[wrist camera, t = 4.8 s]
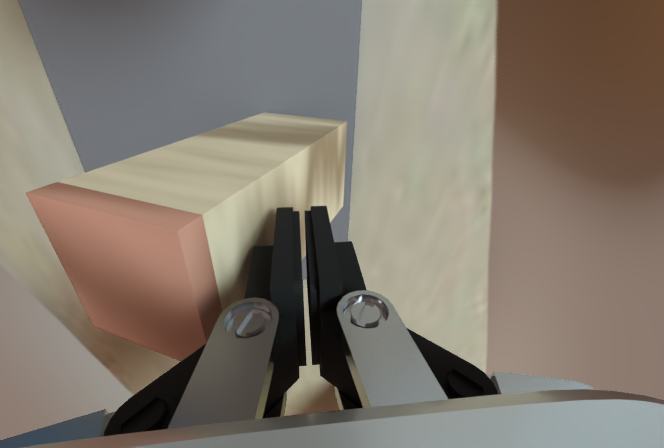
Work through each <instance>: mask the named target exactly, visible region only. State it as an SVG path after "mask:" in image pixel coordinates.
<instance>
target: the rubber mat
mask: <svg viewBox="0 0 664 448" xmlns="http://www.w3.org/2000/svg"><path fill="white" fill-rule="evenodd" d="M18 2H19V4H20V7H21V9H22V12H23V14H24V17H25V20H26V22H27V25H28V27H29V30H30V32H31V35H32V37H33V40H34V43H35V45H36V48H37V50H38V53H39V55H40V58H41V60H42V63H43V66H44V68H45V71H46V73H47V76H48V78H49V81H50V83H51V86H52V88H53V91H54V94H55V96H56V99H57V101H58V104H59V106H60V109H61V111H62V114H63V117H64V119H65V122H66V124H67V127H68V129H69V132H70V134H71V137H72V140H73V142H74V145H75V147H76V150H77V152H78V155H79V157H80V160H81V163H82V165H83V168H84V170H85V173H86V172H89V171H92V170H95V169H98V168H101V167H104V166H107V165H110V164H113V163H116V162H119V161H122V160H125V159H127V158H130V157H133V156H136V155H139V154H142V153H145V152H148V151H151V150H154V149H157V148H160V147H163V146H166V145H169V144H172V143H175V142H178V141H181V140H184V139H187V138H190V137H193V136H196V135H199V134H202V133H205V132H208V131H211V130H214V129H216V128H219V127H222V126H225V125H228V124H231V123H234V122H237V121H240V120H243V119H246V118H249V117H252V116H255V115H258V114H261V113H264V112H265V113H275V114H284V115H294V116H303V117H313V118H322V119H332V120H341V121H347V137H346V158H345V179H344V200H343V207H342V208H341V209H340V211H339V212H338V213H337V215H336V216H335V217H334V219H333V220H332V221H331V222H330V224H331V229H332V234H333V239H334V242H348V228H349V211H350V194H351V177H352V161H353V144H354V127H355V110H356V93H357V77H358V60H359V43H360V26H361V9H362V0H18ZM302 279H307V269H306V255H305V257H304V258H303V259H302Z"/></svg>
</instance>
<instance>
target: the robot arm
mask: <svg viewBox="0 0 664 448" xmlns="http://www.w3.org/2000/svg"><path fill="white" fill-rule="evenodd" d="M305 240H306V269H307V289H308V305H309V320H310V336H311V351H312V365H317V364H320V376H322V377H323V378H325V379H326V380H327V381H329V382H330V383H331V384H332V385H334V388H335V396H336V399H337V403H338V406H339V411H329V412H320V413H310V414H301V415H292V416H284V413H285V407H286V401H287V390H288V389H289V388H290V387H291V386H292V385H293V384H294V383H295V382H296V381H297V380H298V378H299V366H306V347H305V324H304V301H303V279H302V257H301V235H300V213H299V211H293V207H279V208H277V210H276V221H275V232H274V244H273V245H269V246H254V248H253V253H252V258H251V264H250V269H249V275H248V280H247V286H246V291H245V297H244V299H242V300H239V301H237V302H235V303H233V304H231V305H229V306H228V307H227V308H226V309H225V310H224V311H223V312H222V313H221V315H220V316H219V318H218V320H217V322H216V324H215V326H214V329H213V331H212V333H211V335H210V337H209V339H208V342H207V343H206V344H205V345H203V346H202V347H200V348H199V349H198V350H196V351H195V352H194V353H192V354H191V355H189V356H188V357H187V358H185V359H184V360H182V361H181V362H180V363H178V364H177V365H175V366H174V367H173V368H171V369H170V370H169V371H167V372H166V373H164V374H163V375H162V376H160V377H159V378H157V379H156V380H155V381H153V382H152V383H150V384H149V385H148V386H146V387H145V388H144V389H142V390H141V391H139V392H138V393H137V394H135V395H134V396H132V397H131V398H130V399H129V400H128V401H126V402H125V403H124V404H123V405H122V406H121V407H119V409H118V410H117V411H116V412H113V413H108V412H107V410H106V409H104V410H101V411H98V412H95V413H91V414H88V415H84V416H81V417H78V418H74V419H71V420H68V421H64V422H61V423H57V424H54V425H51V426H47V427H44V428H41V429H37V430H34V431H31V432H27V433H24V434H21V435H17V436H14V437H11V438H7V439H4V440H0V448H664V400H662V399H657V398H654V397H649V396H646V395H639V394H632V393H625V392H618V391H607V390H596V389H594V388H592V387H590V386H588V385H586V384H583V383H579V382H575V381H569V380H561V379H553V378H545V377H537V376H529V375H520V374H512V373H504V372H496V371H494V372H493V374H492V376H490V375H486V374H485V373H484V372H483V371H481V370H480V369H478V368H477V367H476V366H474V365H472V364H471V363H469V362H467V361H465V360H463V359H462V358H460V357H458V356H456V355H454V354H452V353H451V352H449V351H447V350H445V349H443V348H442V347H440V346H438V345H436V344H434V343H433V342H431V341H429V340H427V339H425V338H424V337H422V336H420V335H418V334H416V333H415V332H413V331H411V330H409V329H407V328H406V327H405V325H404V323H403V322H402V320H401V318H400V317H399V315H398V313H397V312H396V310H395V308H394V307H393V305H392V304H391V303H390V301H389V300H388V299H387V298H385V297H384V296H382V295H381V294H378V293H375V292H372V291H367V290H366V287H365V284H364V280H363V277H362V273H361V270H360V267H359V263H358V260H357V257H356V253H355V250H354V247H353V244H352V242H351V241H349V242H334V239H333V234H332V229H331V224H330V220H329V215H328V210H327V206H311V209H310V210H309V211H305Z"/></svg>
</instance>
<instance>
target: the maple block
mask: <svg viewBox="0 0 664 448" xmlns="http://www.w3.org/2000/svg"><path fill="white" fill-rule="evenodd" d="M346 137H347V121H341V120H332V119H322V118H313V117H303V116H294V115H284V114H275V113H265V112H264V113H261V114H258V115H255V116H252V117H249V118H246V119H243V120H240V121H237V122H234V123H231V124H228V125H225V126H222V127H219V128H216V129H214V130H211V131H208V132H205V133H202V134H199V135H196V136H193V137H190V138H187V139H184V140H181V141H178V142H175V143H172V144H169V145H166V146H163V147H160V148H157V149H154V150H151V151H148V152H145V153H142V154H139V155H136V156H133V157H130V158H127V159H125V160H122V161H119V162H116V163H113V164H110V165H107V166H104V167H101V168H98V169H95V170H92V171H89V172H86V173H83V174H80V175H77V176H74V177H71V178H68V179H65V180H62V181H59V182H56V183H53V184H50V185H47V186H44V187H41V188H38V189H36V190H33V191H30V192H27V193H26V195H27V197H28V199H29V201H30V202H31V204H32V206H33V208H34V210H35V212H36V214H37V216H38V218H39V220H40V222H41V224H42V226H43V228H44V230H45V232H46V234H47V236H48V238H49V240H50V242H51V244H52V246H53V248H54V249H55V251H56V253H57V255H58V257H59V259H60V261H61V263H62V265H63V267H64V269H65V271H66V273H67V275H68V277H69V279H70V281H71V283H72V285H73V287H74V289H75V291H76V293H77V295H78V296H79V298H80V300H81V302H82V304H83V306H84V308H85V310H86V312H87V314H88V316H89V318H90V320H91V322H92V324H93V326H95V327H97V328H99V329H102V330H104V331H107V332H109V333H112V334H114V335H117V336H119V337H122V338H124V339H127V340H129V341H132V342H134V343H137V344H139V345H142V346H144V347H147V348H149V349H152V350H154V351H157V352H159V353H162V354H164V355H167V356H169V357H172V358H174V359H177V360H179V361H182V360H184V359H185V358H187V357H188V356H189V355H191V354H192V353H194V352H195V351H196V350H198V349H199V348H200V347H202V346H203V345H205V344H206V343H207V342H208V339H209V337H210V335H211V333H212V331H213V329H214V326H215V324H216V322H217V320H218V318H219V316H220V315H221V313H222V312H223V311H224V310H225V309H226V308H227V307H228V306H229V305H231V304H233V303H235V302H237V301H239V300H242V299H244V297H245V291H246V286H247V280H248V275H249V269H250V264H251V258H252V253H253V248H254V246H269V245H273V244H274V232H275V221H276V210H277V208H279V207H293V211H299V213H300V235H301V257H302V259H303V258H304V257H305V255H306V240H305V211H309V210H310V209H311V206H327V210H328V215H329V220H330V222H331V221H332V220H333V219H334V217H335V216H336V215H337V213H338V212H339V211H340V209H341V208H342V207H343V200H344V179H345V158H346Z"/></svg>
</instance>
